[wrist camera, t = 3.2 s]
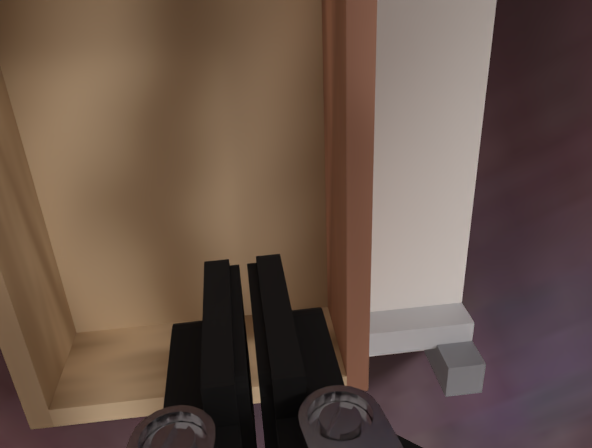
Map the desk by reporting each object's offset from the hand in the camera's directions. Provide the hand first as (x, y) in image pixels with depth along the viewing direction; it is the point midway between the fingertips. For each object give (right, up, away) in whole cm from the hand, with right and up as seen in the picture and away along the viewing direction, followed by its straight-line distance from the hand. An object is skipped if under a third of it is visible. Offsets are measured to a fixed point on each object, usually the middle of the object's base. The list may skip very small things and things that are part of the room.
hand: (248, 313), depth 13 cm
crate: (-3, +5, +8) cm, 10 cm away
